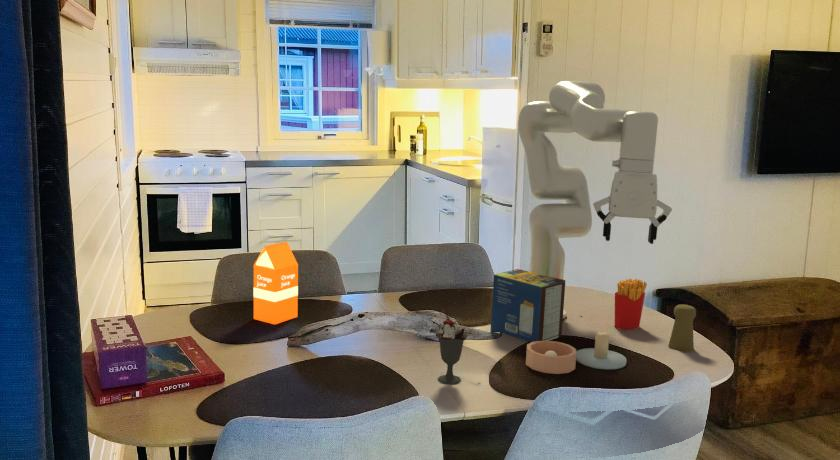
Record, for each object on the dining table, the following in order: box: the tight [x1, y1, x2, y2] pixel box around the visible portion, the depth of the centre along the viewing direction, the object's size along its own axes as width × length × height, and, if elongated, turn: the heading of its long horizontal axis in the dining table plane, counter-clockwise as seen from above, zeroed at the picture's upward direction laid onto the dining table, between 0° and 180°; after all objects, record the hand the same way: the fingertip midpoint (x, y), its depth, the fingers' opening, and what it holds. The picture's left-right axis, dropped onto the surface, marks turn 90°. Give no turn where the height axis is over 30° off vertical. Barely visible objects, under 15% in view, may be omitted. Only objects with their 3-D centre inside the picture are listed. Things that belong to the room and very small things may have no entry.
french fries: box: [614, 278, 648, 331], centre depth 194 cm, size 9×4×13 cm, turn 115°
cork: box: [668, 304, 697, 353], centre depth 179 cm, size 6×6×11 cm
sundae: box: [435, 310, 468, 385], centre depth 152 cm, size 7×7×15 cm
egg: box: [544, 350, 558, 356], centre depth 162 cm, size 3×3×3 cm
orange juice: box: [252, 241, 299, 325], centre depth 189 cm, size 8×9×20 cm
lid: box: [576, 331, 628, 370], centre depth 166 cm, size 12×12×6 cm
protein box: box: [490, 268, 566, 343], centre depth 183 cm, size 10×15×16 cm
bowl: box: [525, 340, 577, 375], centre depth 162 cm, size 11×11×4 cm
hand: (628, 241), depth 165 cm, fingers open, 9 cm apart
